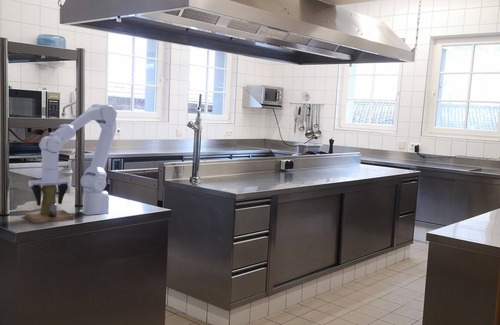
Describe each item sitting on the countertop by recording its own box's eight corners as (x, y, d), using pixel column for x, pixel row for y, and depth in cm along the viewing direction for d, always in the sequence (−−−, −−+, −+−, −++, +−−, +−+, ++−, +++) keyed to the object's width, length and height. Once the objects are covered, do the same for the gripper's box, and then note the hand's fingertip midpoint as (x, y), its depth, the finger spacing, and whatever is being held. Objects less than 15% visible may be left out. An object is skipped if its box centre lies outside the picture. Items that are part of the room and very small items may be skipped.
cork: (60, 214, 185) (60, 185, 184) (44, 215, 181) (44, 186, 180) (52, 211, 189) (53, 183, 188) (37, 212, 185) (37, 184, 184)
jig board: (62, 213, 193) (62, 209, 193) (73, 219, 184) (73, 215, 184) (25, 216, 185) (25, 212, 184) (34, 223, 175) (34, 218, 175)
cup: (63, 195, 232) (63, 170, 230) (54, 193, 235) (54, 169, 234) (75, 194, 238) (76, 169, 237) (66, 192, 241) (67, 168, 240)
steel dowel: (55, 215, 182) (55, 202, 182) (57, 216, 180) (57, 203, 180) (48, 216, 181) (48, 202, 180) (50, 217, 179) (50, 203, 179)
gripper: (66, 166, 190) (65, 201, 191) (26, 167, 181) (25, 203, 182) (72, 169, 185) (71, 204, 186) (31, 170, 176) (31, 207, 177)
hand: (49, 204), depth 184 cm, fingers open, 7 cm apart
